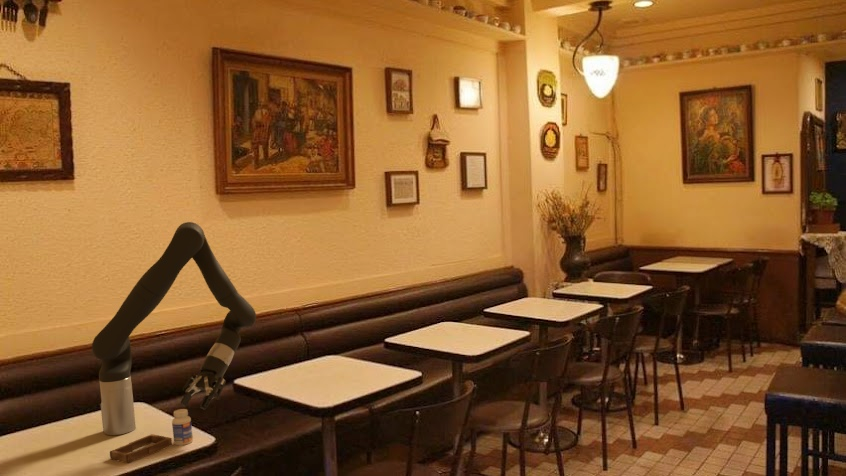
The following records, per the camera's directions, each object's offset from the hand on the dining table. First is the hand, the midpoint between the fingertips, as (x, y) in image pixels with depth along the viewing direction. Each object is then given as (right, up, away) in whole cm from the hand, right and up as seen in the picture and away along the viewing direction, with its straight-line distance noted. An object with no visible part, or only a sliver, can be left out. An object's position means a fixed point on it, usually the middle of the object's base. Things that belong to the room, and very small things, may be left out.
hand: (192, 406), depth 213 cm
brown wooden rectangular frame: (-12, -11, -9) cm, 18 cm away
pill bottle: (-2, -10, -3) cm, 11 cm away
